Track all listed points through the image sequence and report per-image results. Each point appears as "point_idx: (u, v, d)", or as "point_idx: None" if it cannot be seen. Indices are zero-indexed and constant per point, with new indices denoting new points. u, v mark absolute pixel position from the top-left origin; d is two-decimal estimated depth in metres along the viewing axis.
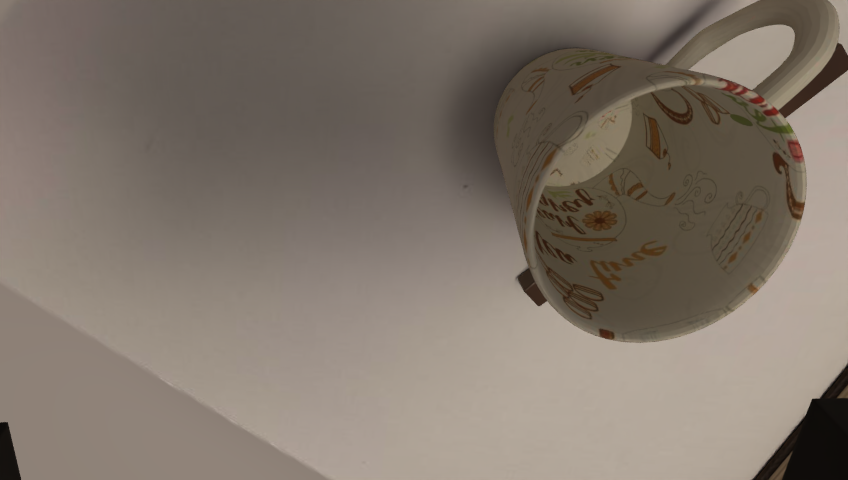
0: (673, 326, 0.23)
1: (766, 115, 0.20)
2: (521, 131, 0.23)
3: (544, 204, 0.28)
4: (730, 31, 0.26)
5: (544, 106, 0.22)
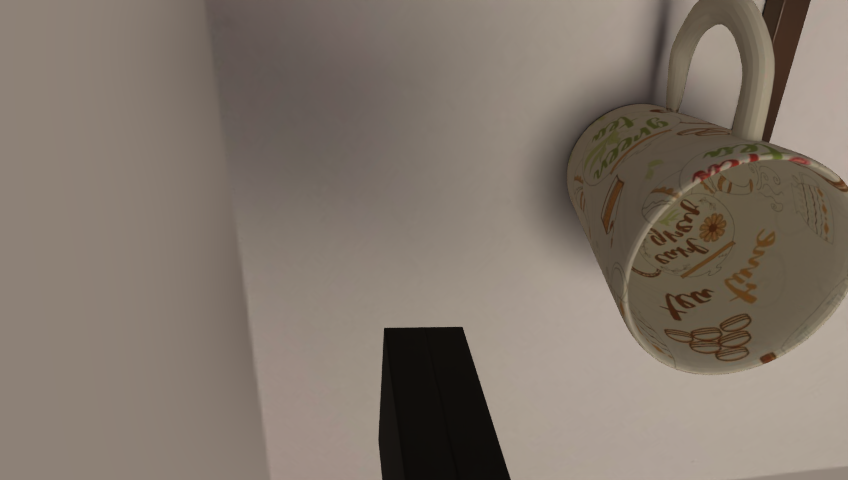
0: (817, 313, 0.25)
1: None
2: (596, 257, 0.28)
3: (662, 243, 0.32)
4: (692, 40, 0.27)
5: (596, 239, 0.27)
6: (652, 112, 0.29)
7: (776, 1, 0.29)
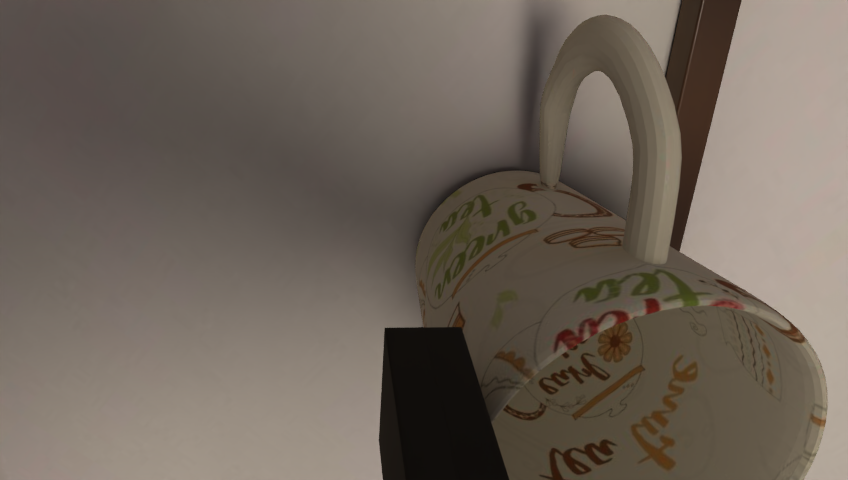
0: None
1: None
2: None
3: None
4: (567, 90, 0.18)
5: None
6: (520, 190, 0.20)
7: (687, 27, 0.21)
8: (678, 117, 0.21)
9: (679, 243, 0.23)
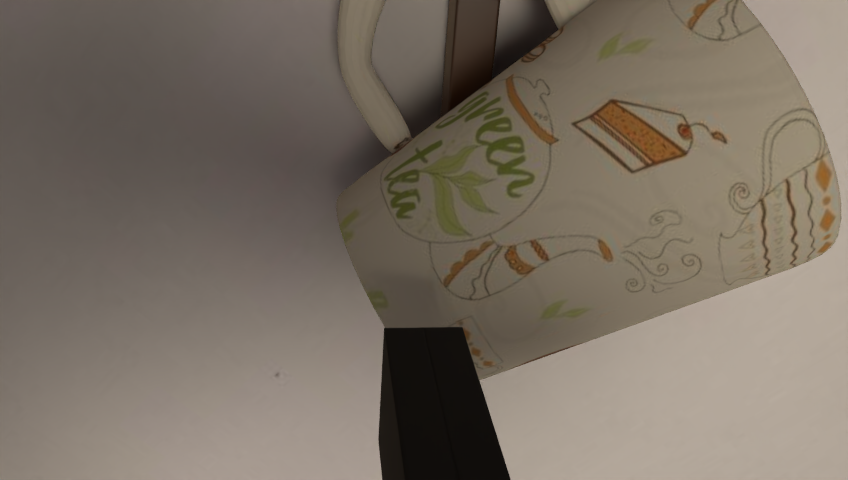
0: None
1: None
2: (645, 265, 0.16)
3: None
4: (375, 26, 0.18)
5: (649, 214, 0.15)
6: (405, 146, 0.18)
7: (451, 19, 0.20)
8: None
9: None
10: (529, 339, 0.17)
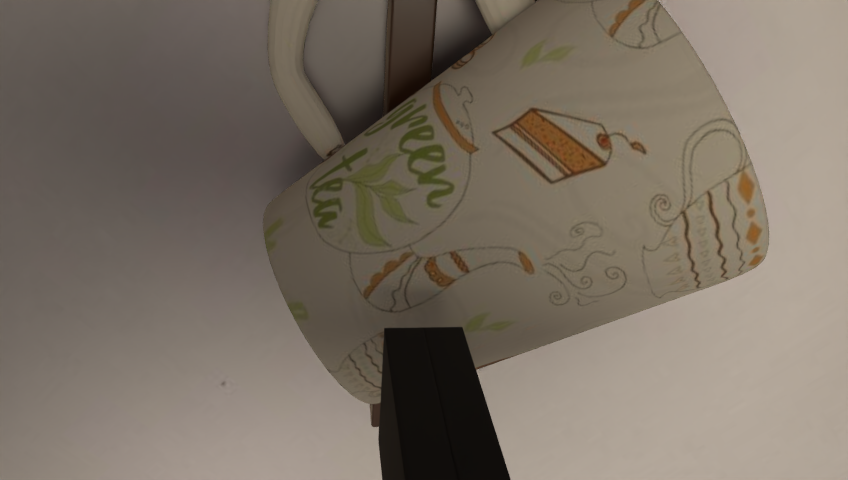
0: None
1: None
2: (567, 278, 0.15)
3: None
4: (305, 31, 0.18)
5: (569, 226, 0.15)
6: (335, 153, 0.18)
7: (388, 24, 0.19)
8: None
9: None
10: None
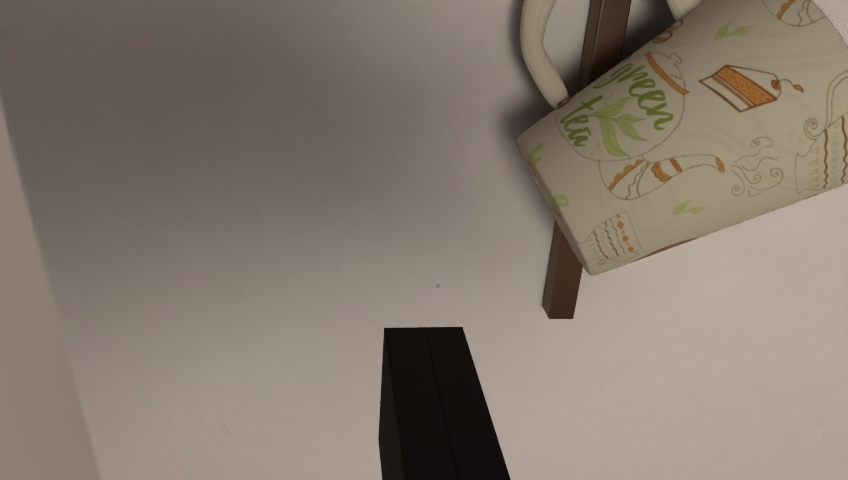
0: None
1: None
2: (745, 175, 0.23)
3: None
4: (547, 19, 0.26)
5: (750, 140, 0.23)
6: (569, 101, 0.26)
7: (594, 15, 0.28)
8: (589, 83, 0.28)
9: None
10: (662, 230, 0.25)
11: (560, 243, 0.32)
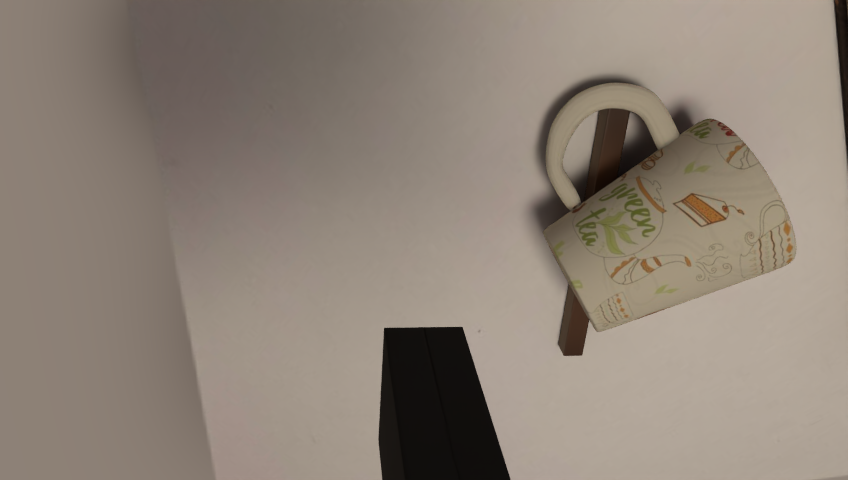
0: None
1: None
2: (705, 268, 0.34)
3: None
4: (565, 148, 0.37)
5: (708, 245, 0.33)
6: (581, 208, 0.36)
7: (599, 140, 0.38)
8: (595, 188, 0.39)
9: None
10: (648, 303, 0.35)
11: (572, 300, 0.42)
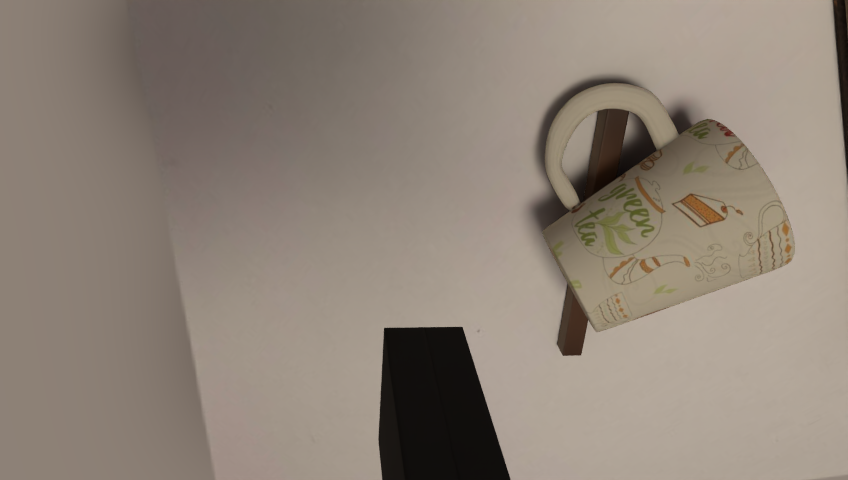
0: None
1: None
2: (704, 268, 0.34)
3: None
4: None
5: (707, 245, 0.33)
6: (581, 208, 0.36)
7: (598, 140, 0.38)
8: (594, 188, 0.39)
9: None
10: (647, 303, 0.35)
11: (571, 300, 0.42)
